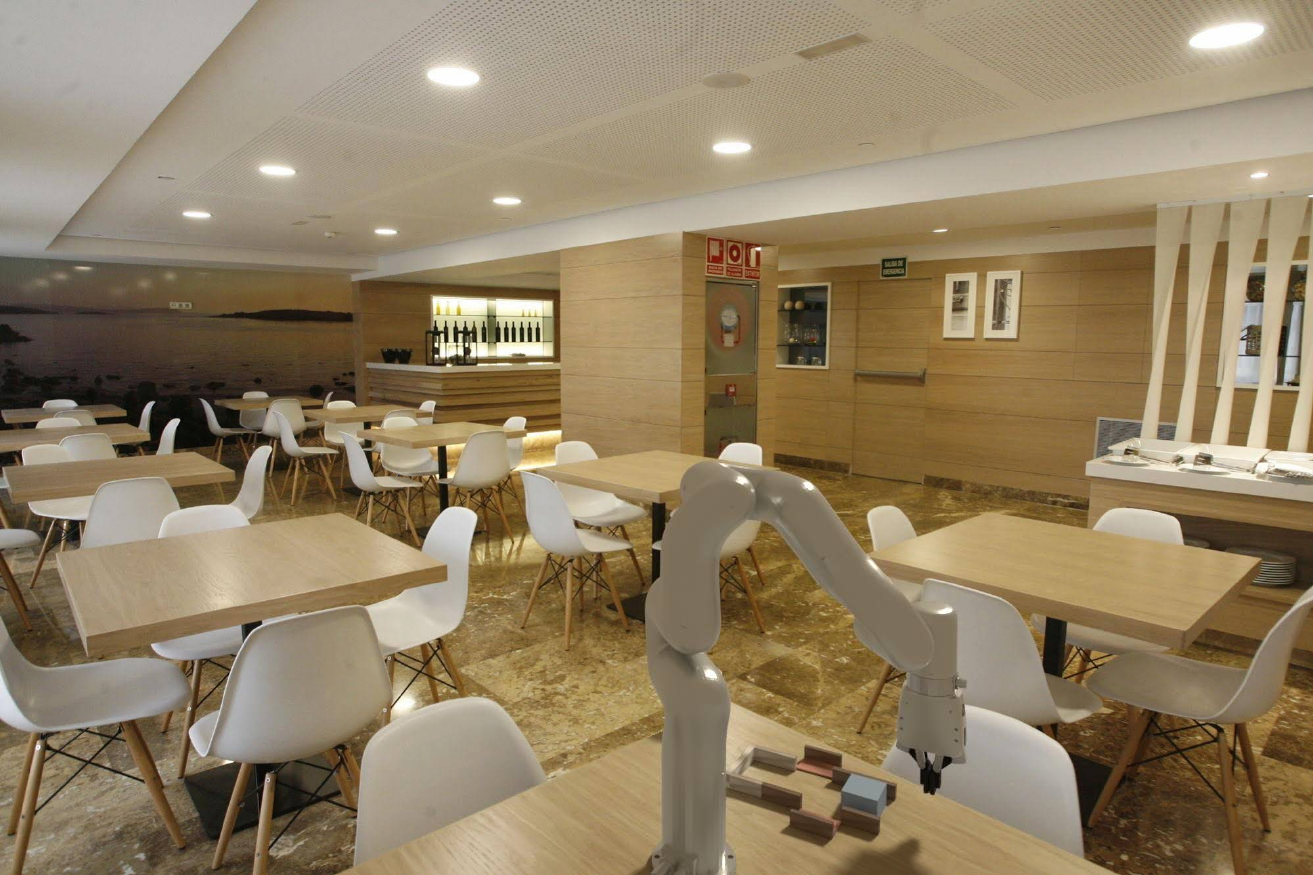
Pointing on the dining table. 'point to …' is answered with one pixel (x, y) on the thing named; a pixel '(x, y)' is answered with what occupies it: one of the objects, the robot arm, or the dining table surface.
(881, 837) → the dining table surface
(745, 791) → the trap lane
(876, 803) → the slate block
